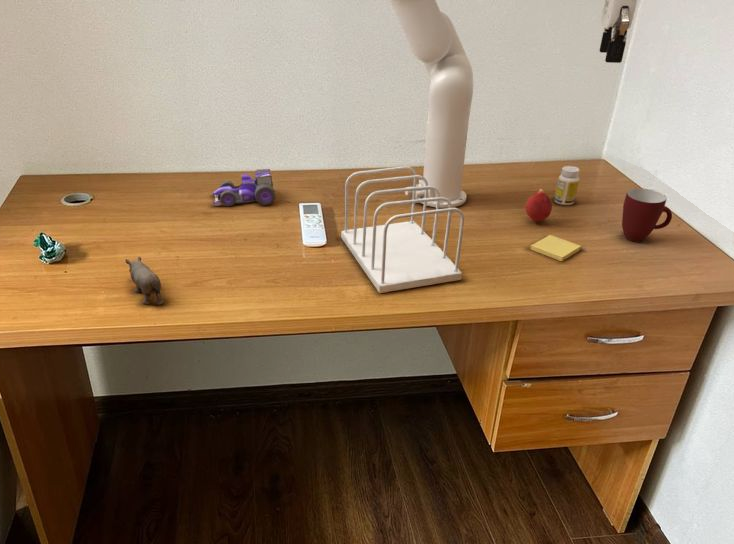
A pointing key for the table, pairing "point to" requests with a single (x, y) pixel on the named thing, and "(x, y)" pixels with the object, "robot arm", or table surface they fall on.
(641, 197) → the mug
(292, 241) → the table surface
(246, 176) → the toy race car
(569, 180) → the supplement bottle
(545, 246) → the sticky note pad
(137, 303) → the table surface
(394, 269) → the file sorter
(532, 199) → the onion
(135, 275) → the rhino figurine
